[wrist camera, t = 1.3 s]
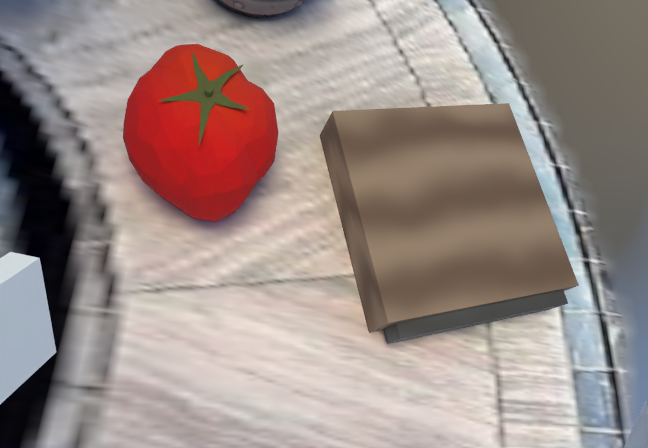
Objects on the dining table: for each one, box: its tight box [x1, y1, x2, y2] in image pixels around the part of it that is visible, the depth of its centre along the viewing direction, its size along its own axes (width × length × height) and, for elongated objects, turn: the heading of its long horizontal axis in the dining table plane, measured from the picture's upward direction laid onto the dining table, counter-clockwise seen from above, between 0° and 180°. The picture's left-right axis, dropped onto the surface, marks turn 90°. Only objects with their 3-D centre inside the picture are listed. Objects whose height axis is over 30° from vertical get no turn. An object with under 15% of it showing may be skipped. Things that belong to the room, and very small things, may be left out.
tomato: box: [123, 44, 278, 222], centre depth 39 cm, size 11×13×10 cm
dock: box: [320, 103, 579, 343], centre depth 46 cm, size 19×18×4 cm
